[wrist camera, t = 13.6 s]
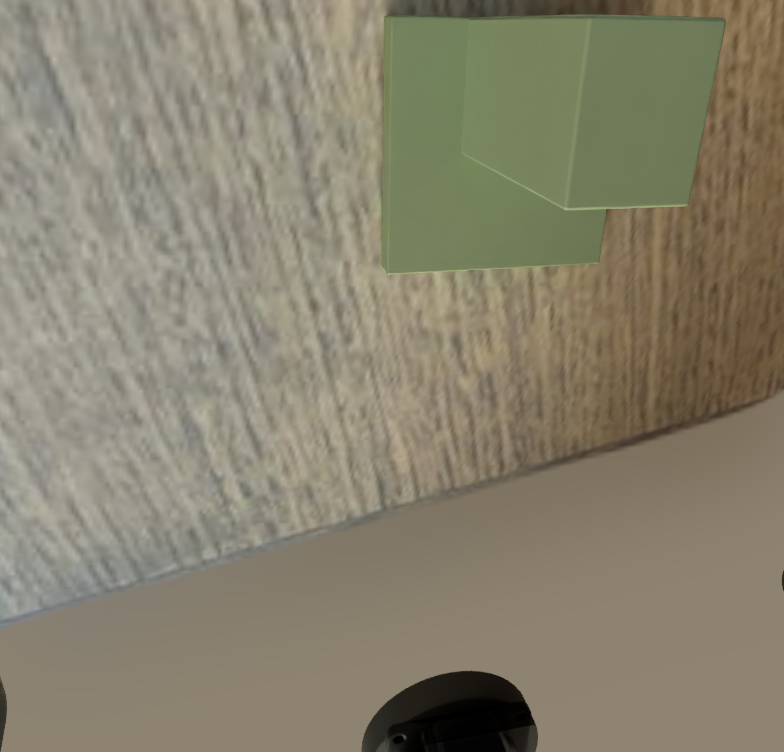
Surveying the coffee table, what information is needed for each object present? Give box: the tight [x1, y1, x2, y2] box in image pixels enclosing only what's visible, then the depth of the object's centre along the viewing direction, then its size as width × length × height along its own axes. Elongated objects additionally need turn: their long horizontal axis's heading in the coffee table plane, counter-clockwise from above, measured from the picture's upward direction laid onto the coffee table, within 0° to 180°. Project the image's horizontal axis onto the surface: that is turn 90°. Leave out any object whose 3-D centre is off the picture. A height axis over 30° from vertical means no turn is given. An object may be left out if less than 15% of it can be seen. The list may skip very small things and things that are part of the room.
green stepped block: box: [381, 14, 726, 274], centre depth 15 cm, size 6×6×7 cm
